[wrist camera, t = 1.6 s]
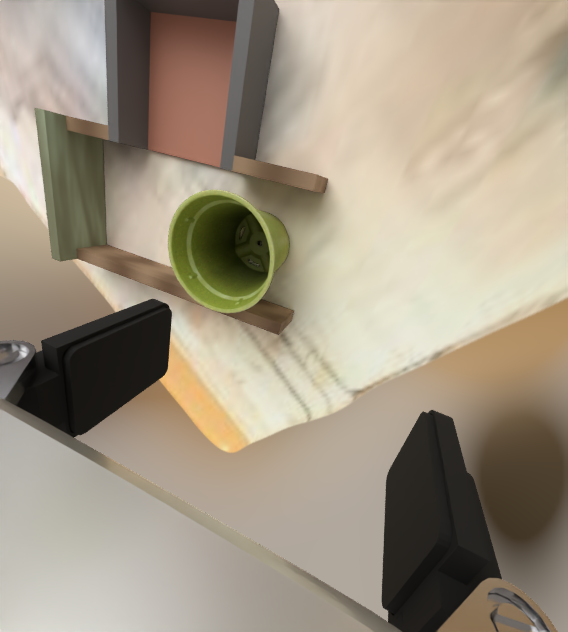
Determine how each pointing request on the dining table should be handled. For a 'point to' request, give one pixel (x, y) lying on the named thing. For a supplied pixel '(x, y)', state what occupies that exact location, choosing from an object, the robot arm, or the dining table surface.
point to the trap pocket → (189, 75)
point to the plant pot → (225, 250)
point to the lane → (89, 209)
